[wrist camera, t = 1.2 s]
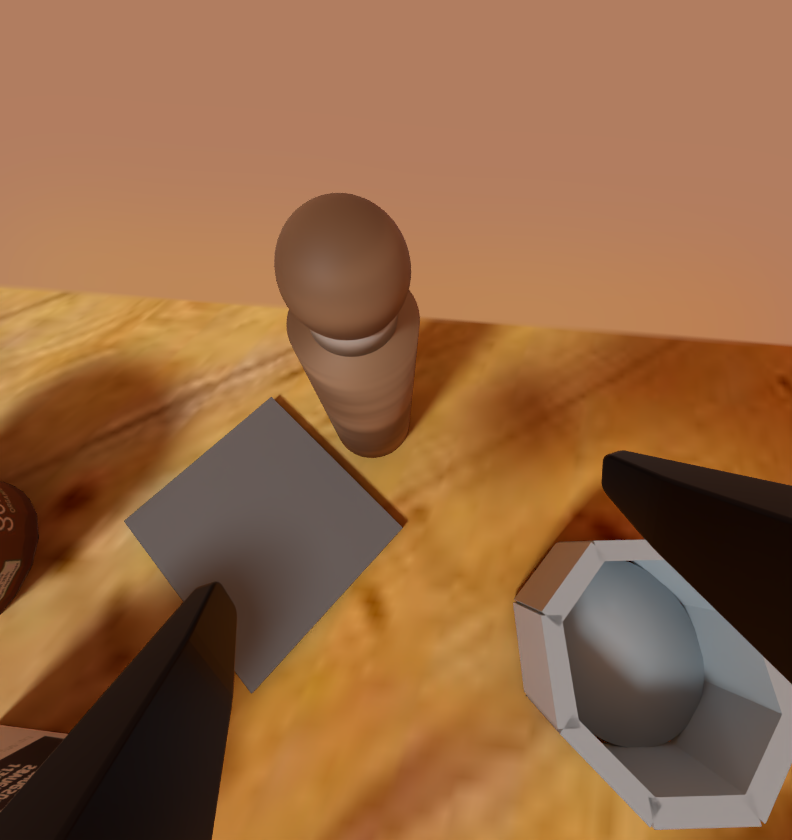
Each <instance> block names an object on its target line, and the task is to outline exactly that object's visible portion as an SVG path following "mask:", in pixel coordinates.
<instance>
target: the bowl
mask: <svg viewBox="0 0 792 840" xmlns="http://www.w3.org/2000/svg"><path fill="white" fill-rule="evenodd" d="M627 561H632V562H633V563H634V564H632V563H630V562H627ZM514 600H515V601H516V602H513V605H514V613H515V621H516V629H517V637H518V645H519V653H520V661H521V669H522V677H523V685H524V692H525V693H526V696H527V697H528V698H529V699H530V700H531V702H532V703H533V704H534V705H535V706H536V707H537V708H538V709H539V711H540V712H541V713H542V714H543V715H544V716H545V717H546V719H547V720H548V721H549V722H550V723H551V724H552V725H553V727H554V728H555V729H556V730H557V731H558V732H559V733H560V734H561V736H562V737H563V738H564V739H565V740H566V741H567V742H568V743H569V744H570V745H571V746H572V747H573V748H574V749H575V750H576V751H577V752H578V753H579V754H580V755H581V756H582V757H583V758H584V759H585V760H586V761H587V763H588V764H589V765H590V766H591V767H592V768H593V769H594V770H595V771H596V772H597V773H598V774H599V775H600V776H601V777H602V778H603V779H604V780H605V781H606V782H607V783H608V784H609V785H610V786H611V787H612V788H613V790H614V791H615V792H616V793H617V794H618V795H619V796H620V797H621V798H622V799H623V800H624V801H625V802H626V803H627V804H628V805H629V806H630V807H631V808H632V809H633V810H634V811H635V812H636V813H637V814H638V815H639V817H640V818H641V819H642V820H643V821H644V822H645V823H646V824H647V825H648V826H649V827H651V826H652V827H653V828H654V829H655V830H663V829H696V828H729V827H762V825H761V822H760V820H761V821H762V822H763V823H765V824H766V822H767V819H768V817H769V815H770V813H771V810H772V808H773V806H774V803H775V801H776V799H777V796H778V794H779V792H780V789H781V787H782V785H783V782H784V780H785V778H786V776H787V773H788V771H789V769H790V766H791V764H792V684H791V683H790V682H789V681H788V680H787V679H786V678H785V677H784V676H783V675H782V674H781V673H780V672H779V671H777V670H776V669H775V668H774V667H773V666H772V665H771V664H770V663H769V662H768V661H767V660H766V659H765V658H764V657H763V656H762V655H761V654H760V653H759V652H758V651H757V650H756V649H755V648H754V647H753V646H752V645H751V644H750V643H749V642H748V641H747V640H746V639H745V638H744V637H743V636H742V635H741V634H740V633H739V632H738V631H737V630H736V629H735V628H734V627H733V626H732V625H731V624H730V623H729V622H728V621H727V620H725V619H724V618H723V617H722V616H721V615H720V614H719V613H718V612H717V611H716V610H715V609H714V608H713V607H712V606H711V605H710V604H709V603H708V602H707V601H706V600H705V599H704V598H703V597H702V596H701V595H700V594H699V593H698V592H697V591H696V590H695V589H694V588H693V587H692V586H691V585H690V584H689V583H688V582H687V581H686V580H685V579H684V578H683V577H682V576H681V575H680V574H679V573H678V572H677V571H676V570H674V569H673V568H672V567H671V566H670V565H669V564H668V563H667V562H666V561H665V560H664V559H663V558H662V557H661V556H660V555H659V554H658V553H657V552H656V551H655V550H654V549H653V548H652V547H651V545H650V544H649V543H648V542H647V541H646V540H605V541H569V542H559V543H556V544H555V545H554V546H553V548H552V549H551V550H550V552H549V553H548V554H547V556H546V557H545V558H544V560H543V561H542V562H541V564H540V565H539V566H538V568H537V569H536V570H535V572H534V573H533V574H532V576H531V577H530V578H529V580H528V581H527V582H526V584H525V585H524V586H523V588H522V589H521V590H520V592H519V593H518V594H517V596H516V597H515V598H514ZM681 603H682V605H683V606H682V605H681ZM593 734H594V735H595V736H597V737H599V738H601V739H603V740H605V741H607V742H610V743H601V742H600V741H599V740H598V739H597V738H596V737H595V736H594V735H593ZM670 740H671V741H670ZM668 741H670V742H668Z"/></svg>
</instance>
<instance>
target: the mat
mask: <svg viewBox="0 0 792 840" xmlns="http://www.w3.org/2000/svg"><path fill="white" fill-rule="evenodd" d="M124 522H125V523H126V525H127V526H128V527H129V529H130V530H131V532H132V533H133V534H134V536H135V537H136V538H137V540H138V541H139V542H140V544H141V545H142V546H143V548H144V549H145V550H146V552H147V553H148V554H149V556H150V557H151V559H152V560H153V561H154V563H155V564H156V565H157V567H158V568H159V569H160V571H161V572H162V573H163V575H164V576H165V577H166V579H167V580H168V582H169V583H170V584H171V586H172V587H173V588H174V590H175V591H176V592H177V594H178V595H179V596H180V598H181V599H182V600H183V602H184V601H185V600H186V599H187V597H188V596H189V595H190V594H191V593H192V592H193V591H194V590H195V589H196V588H197V587H199V586H201V585H204V584H207V583H210V582H213V581H218V582H220V583H221V584H222V585H223V587H224V588H225V590H226V592H227V593H228V595H229V596H230V598H231V599H232V601H233V603H234V604H235V607H236V610H237V632H236V651H235V672H236V674H237V675H238V676H239V678H240V679H241V680H242V682H243V683H244V684H245V686H246V687H247V688H248V690H249V691H250V692H251V694H252V693H253V692H254V691H255V690H256V689H257V688H258V686H259V685H260V684H261V683H262V682H263V681H264V680H265V679H266V678H267V677H268V675H269V674H270V673H271V672H272V671H273V670H274V669H275V668H276V667H277V666H278V664H279V663H280V662H281V661H282V660H283V659H284V658H285V657H286V656H287V655H288V653H289V652H290V651H291V650H292V649H293V648H294V647H295V646H296V645H297V644H298V642H299V641H300V640H301V639H302V638H303V637H304V636H305V635H306V634H307V633H308V631H309V630H310V629H311V628H312V627H313V626H314V625H315V624H316V623H317V622H318V620H319V619H320V618H321V617H322V616H323V615H324V614H325V613H326V612H327V611H328V609H329V608H330V607H331V606H332V605H333V604H334V603H335V602H336V601H337V600H338V598H339V597H340V596H341V595H342V594H343V593H344V592H345V591H346V590H347V589H348V587H349V586H350V585H351V584H352V583H353V582H354V581H355V580H356V579H357V578H358V576H359V575H360V574H361V573H362V572H363V571H364V570H365V569H366V568H367V567H368V565H369V564H370V563H371V562H372V561H373V560H374V559H375V558H376V557H377V556H378V554H379V553H380V552H381V551H382V550H383V549H384V548H385V547H386V546H387V545H388V543H389V542H390V541H391V540H392V539H393V538H394V537H395V536H396V535H397V534H398V532H399V531H400V530H401V529H402V527H401V526H400V525H399V524H398V523H397V522H396V521H395V520H394V519H393V518H392V517H391V516H390V515H389V514H388V513H387V512H386V511H385V510H384V509H383V508H382V507H381V506H380V505H379V504H378V503H377V502H376V501H375V500H374V499H373V498H372V497H371V496H370V495H369V494H368V493H367V492H366V491H365V490H364V489H363V488H362V487H361V486H360V485H359V484H358V483H357V482H356V481H355V480H354V479H353V478H352V477H351V476H350V475H349V474H348V473H347V472H346V471H345V470H344V469H343V468H342V467H341V466H340V465H339V464H338V463H337V462H336V461H335V460H334V459H333V458H332V457H331V456H330V455H329V454H328V453H327V452H326V451H325V450H324V449H323V448H322V447H321V446H320V445H319V444H318V443H317V442H316V441H315V440H314V439H313V438H312V437H311V436H310V435H309V434H308V433H307V432H306V431H305V430H304V429H303V428H302V427H301V426H300V425H299V424H298V423H297V422H296V421H295V420H294V419H293V418H292V417H291V416H290V415H289V414H288V413H287V412H286V411H285V410H284V409H283V408H282V407H281V406H280V405H279V404H278V403H277V402H276V401H275V400H274V399H273V398H272V397H271V398H269V399H268V400H267V401H266V402H265V403H263V404H262V405H261V406H260V407H259V408H258V409H256V410H255V411H254V412H253V413H252V414H250V415H249V416H248V417H247V418H246V419H244V420H243V421H242V422H241V423H240V424H239V425H237V426H236V427H235V428H234V429H233V430H231V431H230V432H229V433H228V434H227V435H225V436H224V437H223V438H222V439H221V440H220V441H218V442H217V443H216V444H215V445H214V446H212V447H211V448H210V449H209V450H208V451H206V452H205V453H204V454H203V455H202V456H201V457H199V458H198V459H197V460H196V461H195V462H193V463H192V464H191V465H190V466H189V467H187V468H186V469H185V470H184V471H183V472H182V473H180V474H179V475H178V476H177V477H176V478H174V479H173V480H172V481H171V482H170V483H168V484H167V485H166V486H165V487H164V488H163V489H161V490H160V491H159V492H158V493H157V494H155V495H154V496H153V497H152V498H151V499H149V500H148V501H147V502H146V503H145V504H144V505H142V506H141V507H140V508H139V509H138V510H136V511H135V512H134V513H133V514H132V515H130V516H129V517H128V518H127V519H126V520H125V521H124Z"/></svg>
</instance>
